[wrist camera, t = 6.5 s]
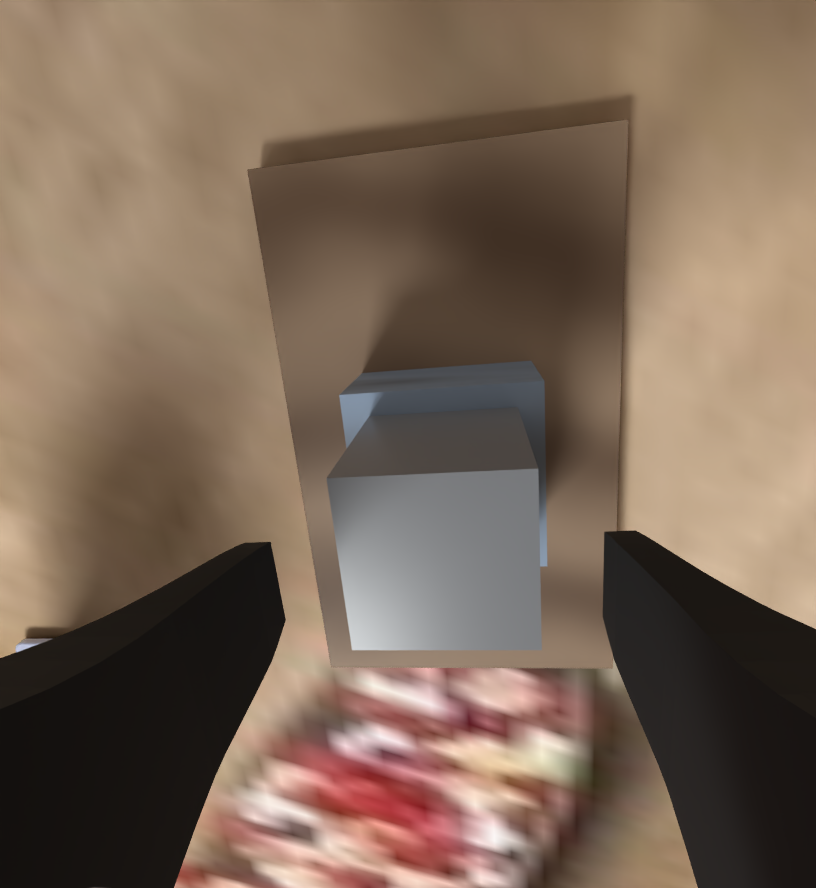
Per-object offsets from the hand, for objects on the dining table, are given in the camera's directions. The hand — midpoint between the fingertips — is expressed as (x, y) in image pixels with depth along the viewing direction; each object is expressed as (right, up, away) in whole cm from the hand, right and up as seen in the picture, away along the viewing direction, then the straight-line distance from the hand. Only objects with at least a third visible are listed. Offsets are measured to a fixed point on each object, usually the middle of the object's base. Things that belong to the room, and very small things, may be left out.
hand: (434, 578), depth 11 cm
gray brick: (+1, +2, +5) cm, 5 cm away
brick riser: (+1, +3, +9) cm, 10 cm away
